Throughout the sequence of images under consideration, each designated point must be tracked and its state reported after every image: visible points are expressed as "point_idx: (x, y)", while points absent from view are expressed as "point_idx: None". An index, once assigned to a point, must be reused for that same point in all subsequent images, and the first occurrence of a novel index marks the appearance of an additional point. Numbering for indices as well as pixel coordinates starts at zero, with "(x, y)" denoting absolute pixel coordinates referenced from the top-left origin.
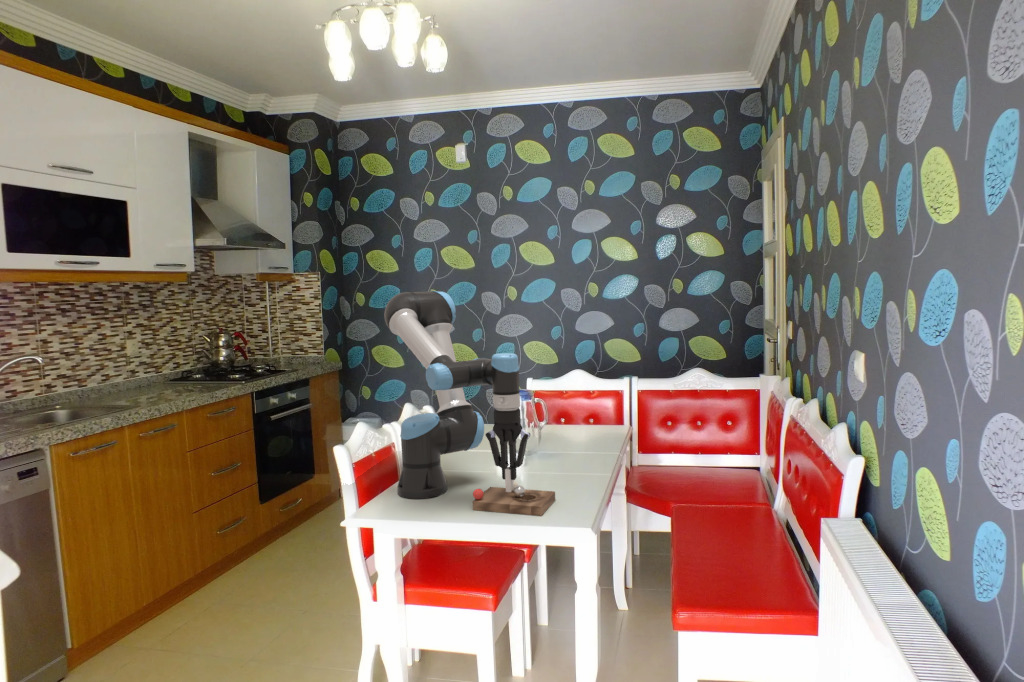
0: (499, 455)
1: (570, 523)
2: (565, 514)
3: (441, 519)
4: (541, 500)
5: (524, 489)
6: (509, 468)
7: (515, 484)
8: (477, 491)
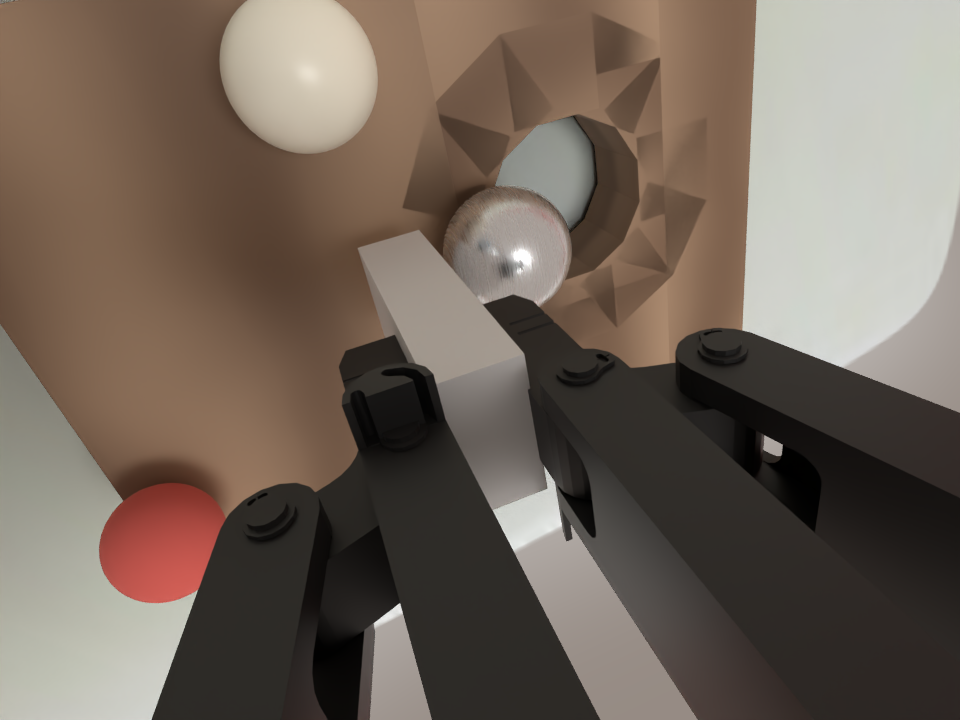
0: (316, 706)
1: (864, 312)
2: (824, 190)
3: (125, 712)
4: (705, 216)
5: (568, 230)
6: (569, 530)
7: (368, 108)
8: (187, 594)
